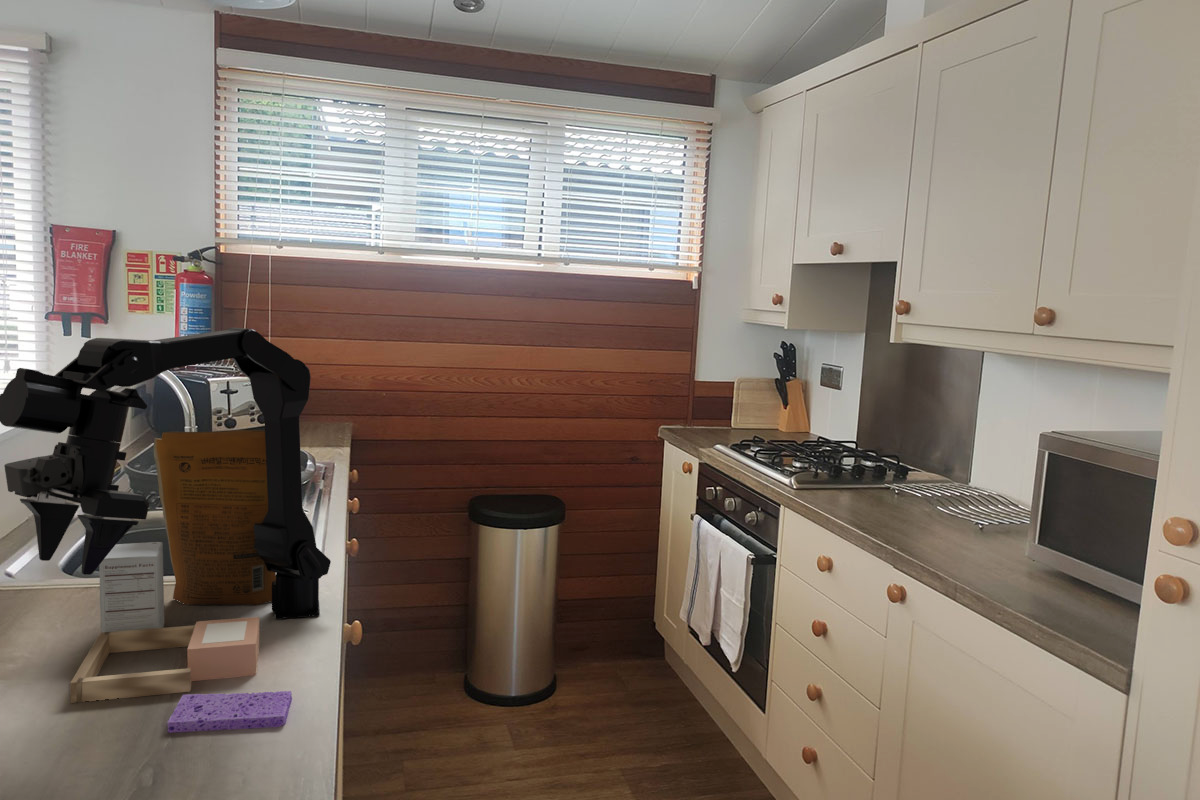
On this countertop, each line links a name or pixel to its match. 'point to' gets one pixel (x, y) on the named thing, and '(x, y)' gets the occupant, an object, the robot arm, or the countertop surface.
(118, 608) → the supplement box
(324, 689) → the countertop surface
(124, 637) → the u-shaped wooden frame
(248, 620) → the carton
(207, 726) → the sponges
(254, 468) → the pancake mix bag
